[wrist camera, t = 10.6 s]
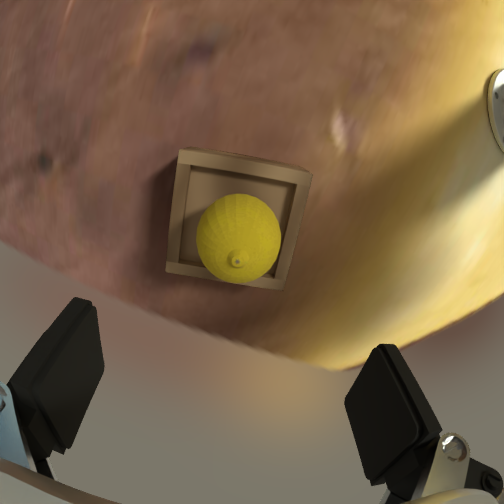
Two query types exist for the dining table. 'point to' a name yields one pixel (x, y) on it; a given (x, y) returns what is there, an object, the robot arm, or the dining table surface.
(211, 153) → the brown wooden tray
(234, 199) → the lemon
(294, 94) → the dining table surface
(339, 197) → the dining table surface
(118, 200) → the dining table surface
